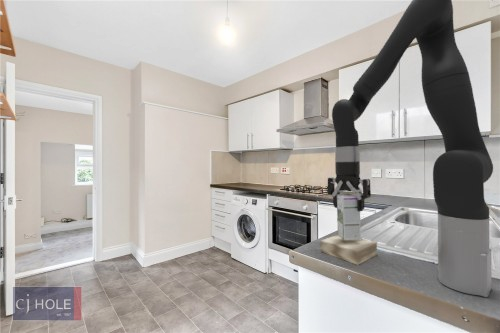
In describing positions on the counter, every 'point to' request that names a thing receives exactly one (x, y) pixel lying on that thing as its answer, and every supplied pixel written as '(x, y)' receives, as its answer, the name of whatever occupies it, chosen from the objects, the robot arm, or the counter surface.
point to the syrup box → (348, 217)
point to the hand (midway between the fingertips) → (348, 209)
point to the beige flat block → (349, 249)
